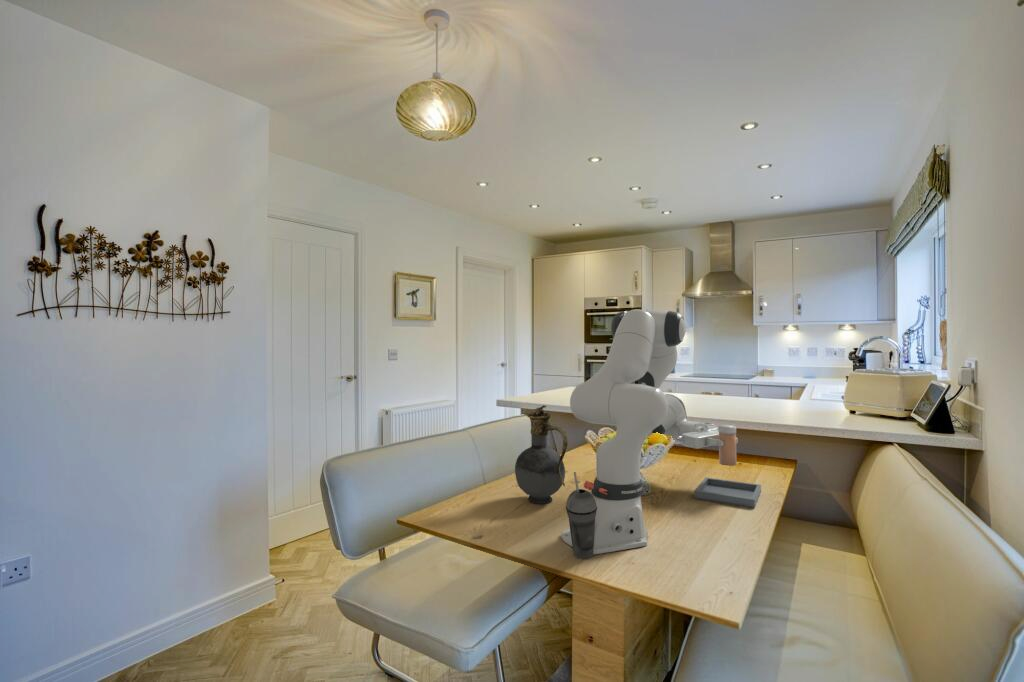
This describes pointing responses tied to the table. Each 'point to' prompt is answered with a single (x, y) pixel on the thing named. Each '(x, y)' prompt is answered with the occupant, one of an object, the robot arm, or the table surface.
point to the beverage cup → (581, 521)
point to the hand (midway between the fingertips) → (730, 442)
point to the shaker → (727, 445)
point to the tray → (728, 492)
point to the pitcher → (541, 461)
